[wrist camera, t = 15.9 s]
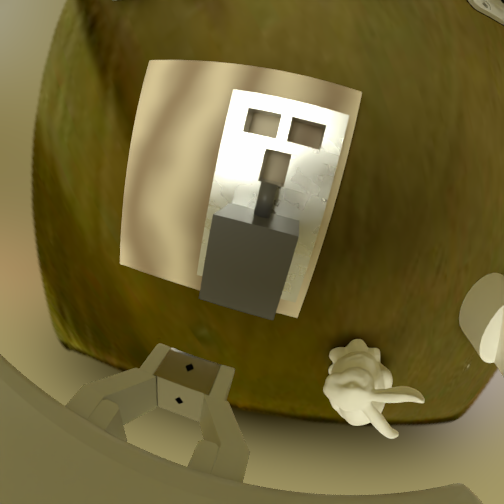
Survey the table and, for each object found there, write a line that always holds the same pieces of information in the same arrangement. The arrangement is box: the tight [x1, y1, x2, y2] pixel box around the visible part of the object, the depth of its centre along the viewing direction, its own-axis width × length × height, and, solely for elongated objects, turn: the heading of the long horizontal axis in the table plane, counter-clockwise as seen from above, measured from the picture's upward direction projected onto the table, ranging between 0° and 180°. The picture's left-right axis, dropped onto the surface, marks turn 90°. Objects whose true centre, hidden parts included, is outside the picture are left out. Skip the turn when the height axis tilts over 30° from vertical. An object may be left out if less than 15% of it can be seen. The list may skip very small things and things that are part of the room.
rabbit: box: [323, 339, 425, 439], centre depth 25 cm, size 12×9×12 cm
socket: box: [197, 89, 349, 303], centre depth 23 cm, size 9×16×2 cm, turn 167°
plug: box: [199, 181, 299, 320], centre depth 21 cm, size 6×9×6 cm, turn 167°
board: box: [120, 60, 362, 318], centre depth 25 cm, size 20×22×2 cm
